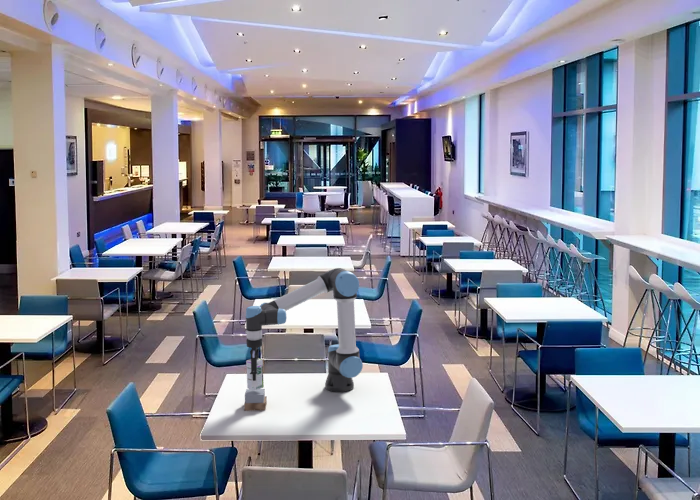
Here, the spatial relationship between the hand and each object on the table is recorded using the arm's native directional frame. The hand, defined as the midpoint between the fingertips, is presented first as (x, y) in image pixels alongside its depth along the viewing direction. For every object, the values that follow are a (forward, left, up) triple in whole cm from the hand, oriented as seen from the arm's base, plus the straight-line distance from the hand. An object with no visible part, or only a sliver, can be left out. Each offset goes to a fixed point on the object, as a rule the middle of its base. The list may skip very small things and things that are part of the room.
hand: (255, 383), depth 364 cm
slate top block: (0, 0, -8) cm, 8 cm away
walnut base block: (0, 0, -12) cm, 12 cm away
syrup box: (0, 0, -2) cm, 2 cm away
